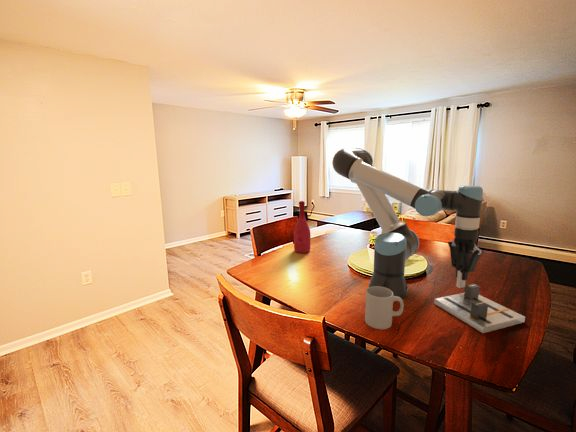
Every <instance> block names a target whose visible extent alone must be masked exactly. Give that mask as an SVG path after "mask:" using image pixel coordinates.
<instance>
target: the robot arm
mask: <svg viewBox="0 0 576 432" xmlns="http://www.w3.org/2000/svg"><path fill="white" fill-rule="evenodd" d="M373 159H374V158H373V156H372V154H371V153H370V152H369V151H367V150H366V149H364V148H341V149H340V150H338V151H337V152H336V153H335V154H334V156H333V158H332V168H333V170H334V171H335V173H337V175H340V176H342V177H343V178H346V179H348V180H349V181H350V182H351V183H353V184H356V186H357V188H358V189H359V191H360V193H361V194H362V196H363V199H364V200H365V202H366V203H367V205H368V207H369V209H370V211H371V212H372V215H373V216H374V218H375V220H376V221H377V223H378V225H379V228H380V229H381V233H380V234H378V235H377V236H375V240H374V244H373V247H374V249H373V250H374V251H373V253H374V255H373V272H372V274H371V278H370V280H369V282H368V286H367V287H368V288H369V287H372V286H381V287H385V288H388V289H390V290H391V291H392V292H393V296H398V297H400V298H401V299H402V300H404V299H405V298H407V297H408V294H409V288H408V285H407V284H408V283H407V281H406V277H405V271H406V270H405V267H406V261H407V260H408V259H409V258H410V257H413V256H414V255H415V254H416V252H417V251H418V249H419V246H420V239H419V236H418V235H417V233H416V232H415V231H413V230H412V229H410V228H409V226H408V225H407V223H406V222H403V221H401V219H400V217H398V215H397V214H398V213H396V211H395V209H394V208H393V206H392V204H391V202H390V201H389V198H388V197H390V198H392V199H394V200H397V201H398V202H401V203H403V204H405V205H407V206H409V207H411V208H413V209H414V210H415V211H416V212H417V213H418V214H419V215H420V216H422V217H431V216H435V215H437V214H438V213H439V212H442V211H451V212H452V211H455V212H456V215H455V222H454V223H455V224H454V226H455V227H454V233H453V235H454V238H453V240H452V241H448V242H447V244H448V247H449V252H450V260H451V267H453V268H455V270H456V271H455V277H456V285H455V287H457V288H458V289H461V288H465V285H466V281H467V280H468V277H469V276H468V275H469V273H472V272H475V270H476V267H477V263H478V261H479V259H480V257H481V255H482V253H484V250H483V249H480V248H479V247H478V242H477V240H478V238H479V230H480V229H479V228H480V221H481V214H482V205H483V193H484V190H483V188H482V186H479V185H460V186H459V187H458V189H457V190H444V189H443V190H442V189H424V188H422V187H420V186H417V185H415V184H413V183H411V182H408V181H406V180H404V179H401V178H399V177H397V176H395V175H393V174H390V173H389V172H386V171H384V170H382V169H379V168H377V167H375V166H374V165H373V163H374V161H373ZM387 196H388V197H387ZM368 288H367V289H368Z"/></svg>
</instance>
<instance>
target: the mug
mask: <svg viewBox="0 0 576 432" xmlns="http://www.w3.org/2000/svg"><path fill="white" fill-rule="evenodd" d="M394 302H399V309H398V310H396V311H395V310H393V308H394V307H393V305H394ZM404 307H405V306H404V299H401V298H400V297H398V296H393V292H392V291H391V290H390V289H388V288H385V287H381V286H372V287H369V288H366V291H365V313H364V321H365V324H366V325H367V326H369V327H370V328H373V329H376V330H387V329H389V328H391V327H392V323H393V317H398V316H399V317H400V316H401V315H402V313H403V312H404Z"/></svg>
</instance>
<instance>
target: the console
mask: <svg viewBox="0 0 576 432" xmlns="http://www.w3.org/2000/svg"><path fill="white" fill-rule="evenodd" d="M433 303H434V305H436V306H437V307H439V308H440V309H442V310H444V311H446V312H447V313H449V314H450V315H452V316H454V317H456V318H457V319H459V320H460V321H462V322H464V323H465V324H467V325H468V326H470V327H472V328H474V329H475V330H477V331H478V332H480V333H481V334H485V333H489V332H493V331H497V330H500V329H505V328H507V327H508V328H509V327H512V326H515V325H518V324H519V325H520V324H522V323H523V324H524V323H525V320H526V316H525V315H522V314H521V313H518V312H516V311H515V310H512V309H510V308H508V307H506V306H504V305H501V304H500V303H497V302H496V301H493V300H491V299H490V298H487V297H484V296H483V295H481V294H479V296H478V298H474V299H468V298H466V297H465V296H464V292H460V293H456V294H452V295H451V294H450V295H446V296H441V297H437V298H434V301H433Z"/></svg>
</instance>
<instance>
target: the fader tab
mask: <svg viewBox="0 0 576 432" xmlns="http://www.w3.org/2000/svg"><path fill="white" fill-rule="evenodd" d="M480 288H481V287H480V285H477V284H476V283H469V284H468V283H467V284H465V287H464V292H463V293H464V296H465V297H466V298H468V299H474V298H478V296H479V295H480Z"/></svg>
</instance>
